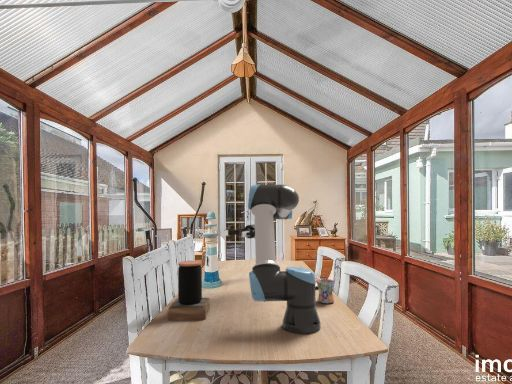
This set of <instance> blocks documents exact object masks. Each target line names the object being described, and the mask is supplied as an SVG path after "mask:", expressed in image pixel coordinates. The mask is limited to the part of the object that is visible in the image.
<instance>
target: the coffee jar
mask: <svg viewBox="0 0 512 384" xmlns="http://www.w3.org/2000/svg"><path fill="white" fill-rule="evenodd" d="M202 263H203V262H202V261H201V260H182V261H179V262H178V264H177V265H178V268H177V271H178V272H177V275H178V276H177V278H178V279H177V285H178V286H177V288H178V290H177V291H178V292H177V298H178V301H179V302H180V304H183V305H193V304H197V303H200V301H201V300H202V298H203V291H202V290H203V287H202V286H203V285H202V284H203V281H202V280H203V278H202V277H203V268H202V266H201V265H202Z"/></svg>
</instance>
